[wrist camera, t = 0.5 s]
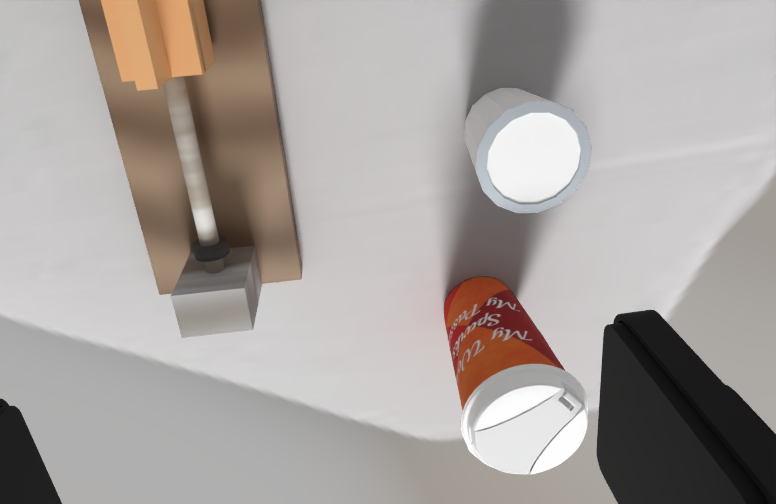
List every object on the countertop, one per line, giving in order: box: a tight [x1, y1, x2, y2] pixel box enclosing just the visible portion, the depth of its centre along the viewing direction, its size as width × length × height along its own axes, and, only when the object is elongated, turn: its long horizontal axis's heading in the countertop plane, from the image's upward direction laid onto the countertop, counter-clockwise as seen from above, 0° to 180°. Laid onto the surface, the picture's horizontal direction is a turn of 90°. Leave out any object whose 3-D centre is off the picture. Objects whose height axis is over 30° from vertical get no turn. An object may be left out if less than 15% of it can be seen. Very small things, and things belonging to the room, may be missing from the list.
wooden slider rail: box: [79, 0, 302, 338], centre depth 37 cm, size 24×10×8 cm, turn 4°
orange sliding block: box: [101, 0, 215, 91], centre depth 33 cm, size 5×4×7 cm
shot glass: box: [464, 88, 591, 213], centre depth 40 cm, size 7×7×7 cm
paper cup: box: [444, 277, 588, 474], centre depth 43 cm, size 8×8×14 cm
